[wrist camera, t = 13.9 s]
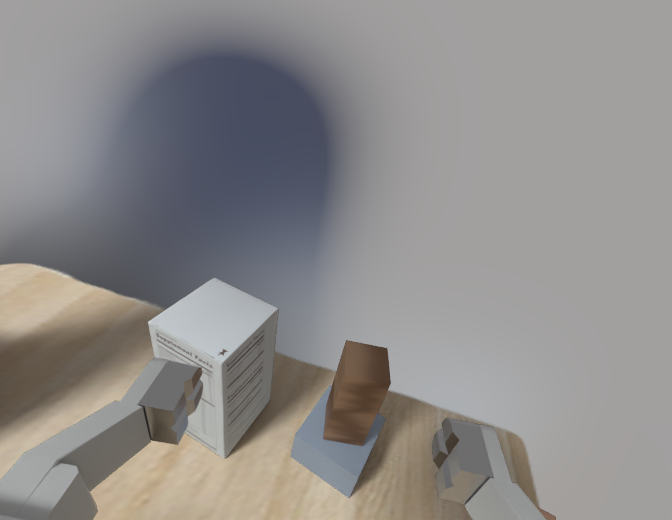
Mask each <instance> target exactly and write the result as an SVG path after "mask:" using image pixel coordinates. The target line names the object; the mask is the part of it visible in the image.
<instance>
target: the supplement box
mask: <svg viewBox="0 0 672 520" xmlns="http://www.w3.org/2000/svg"><path fill="white" fill-rule="evenodd" d="M278 311H279V310H278V308H277V307H275V306H272V305H270V304H268V303H266V302H264V301H262V300H260V299H258V298H255V297H253V296H251V295H249V294H247V293H245V292H243V291H241V290H239V289H237V288H235V287H233V286H230V285H228V284H226V283H224V282H222V281H220V280H218V279H216V278H213V279H212V280H210V281H208V282H207V283H205V284H204V285H202V286H201V287H199V288H198V289H196V290H195V291H193V292H192V293H190V294H189V295H187V296H186V297H184V298H183V299H181V300H180V301H178V302H177V303H175V304H174V305H172V306H171V307H169V308H168V309H166V310H165V311H163V312H162V313H160V314H159V315H157V316H156V317H154V318H153V319H151V320H150V321H149V322H148V326H149V331H150V336H151V341H152V346H153V352H154V357H156V358H161V359H166V360H171V361H175V362H179V363H184V364H188V365H193V366H197V367H202V375H201V377H200V380H201V381H202V382H203V391H202V396H201V399H200V402H199V404H198V406H197V408H196V410H195V412H194V413H192V414H191V415H189V416H188V426H187V428H186V430H185V432H184V433H186V434H187V435H189V436H190V437H192V438H194V439H195V440H197V441H198V442H200V443H201V444H203V445H204V446H206V447H207V448H209V449H210V450H212V451H213V452H215V453H216V454H218V455H219V456H221V457H222V458H226V457H227V456H228V455H229V453H230V452H231V451H232V449H233V448H234V447H235V445H236V444H237V443H238V442H239V440H240V439H241V438H242V436H243V435H244V434H245V432H246V431H247V430H248V428H249V427H250V426H251V424H252V423H253V422H254V421H255V419H256V418H257V417H258V415H259V414H260V413H261V412H262V410H263V409H264V408H265V406H266V405H267V404H268V402H269V401H270V394H271V384H272V373H273V363H274V352H275V342H276V331H277V321H278Z"/></svg>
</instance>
